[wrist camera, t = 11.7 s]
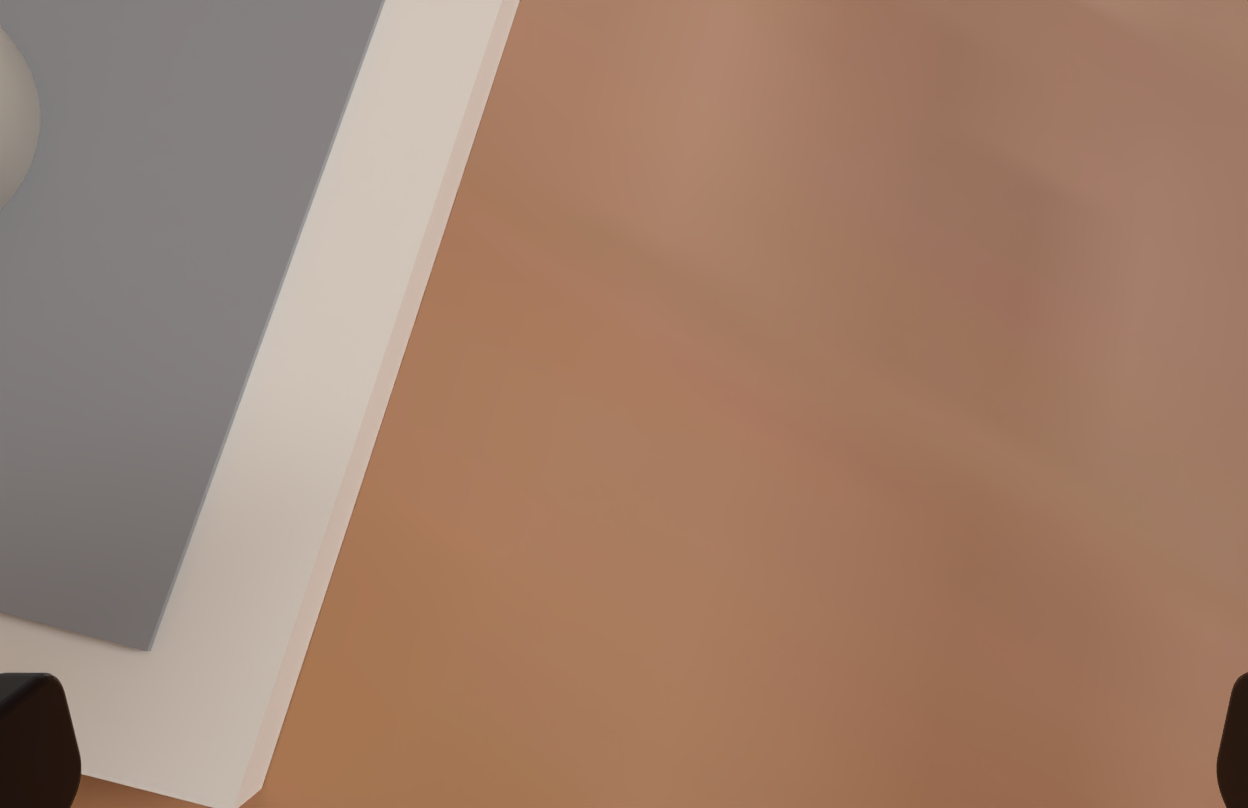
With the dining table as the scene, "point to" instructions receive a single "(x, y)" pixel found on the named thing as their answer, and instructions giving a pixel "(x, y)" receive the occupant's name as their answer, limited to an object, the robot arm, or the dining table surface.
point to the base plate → (210, 345)
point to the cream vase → (16, 118)
